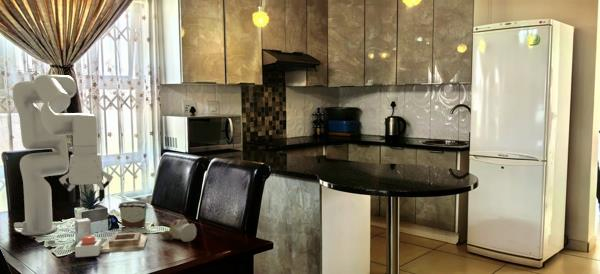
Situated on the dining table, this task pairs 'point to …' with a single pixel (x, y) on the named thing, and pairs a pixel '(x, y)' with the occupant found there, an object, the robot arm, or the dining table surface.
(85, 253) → the button box
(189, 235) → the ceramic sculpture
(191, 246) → the dining table surface
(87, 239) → the button
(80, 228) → the block
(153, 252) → the dining table surface
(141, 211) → the food container
